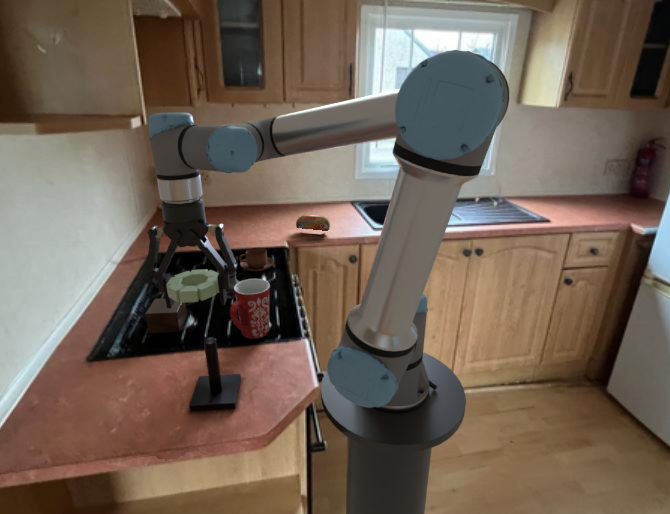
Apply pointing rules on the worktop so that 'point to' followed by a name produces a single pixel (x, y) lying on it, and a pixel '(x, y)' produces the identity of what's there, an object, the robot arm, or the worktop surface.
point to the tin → (313, 222)
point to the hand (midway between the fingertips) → (197, 303)
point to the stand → (215, 384)
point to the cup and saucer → (256, 260)
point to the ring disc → (202, 290)
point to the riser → (165, 316)
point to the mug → (251, 308)
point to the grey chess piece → (232, 285)
